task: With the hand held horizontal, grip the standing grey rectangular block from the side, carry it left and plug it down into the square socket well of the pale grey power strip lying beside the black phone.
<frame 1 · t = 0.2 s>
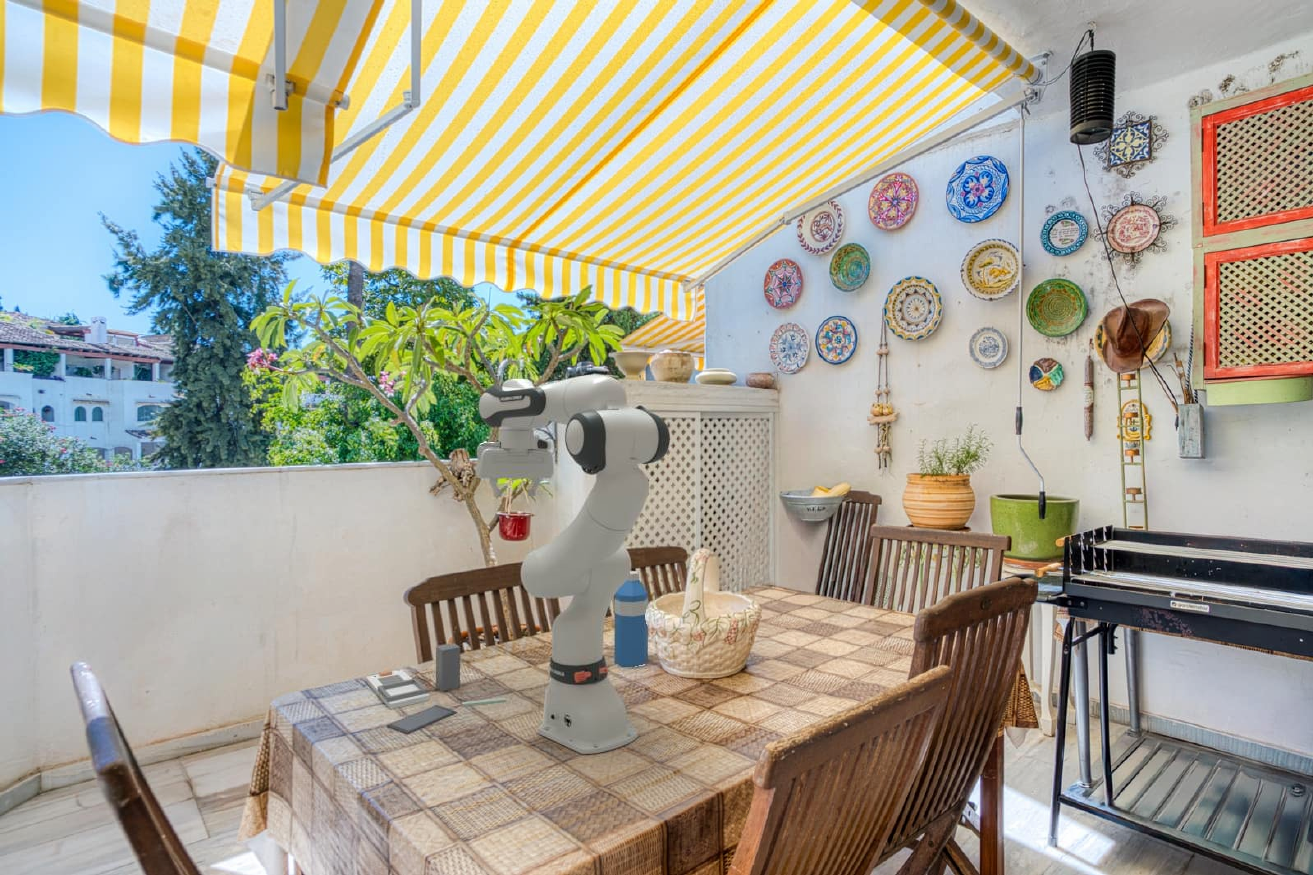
hand: (515, 496, 168), 47 cm above the table, tool pointing down, fingers open, 8 cm apart
pale green stick: (484, 705, 154), on the table
phone: (422, 722, 144), on the table
water bottle: (631, 663, 182), on the table
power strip: (396, 690, 161), on the table
grey rectangular block: (447, 686, 164), on the table
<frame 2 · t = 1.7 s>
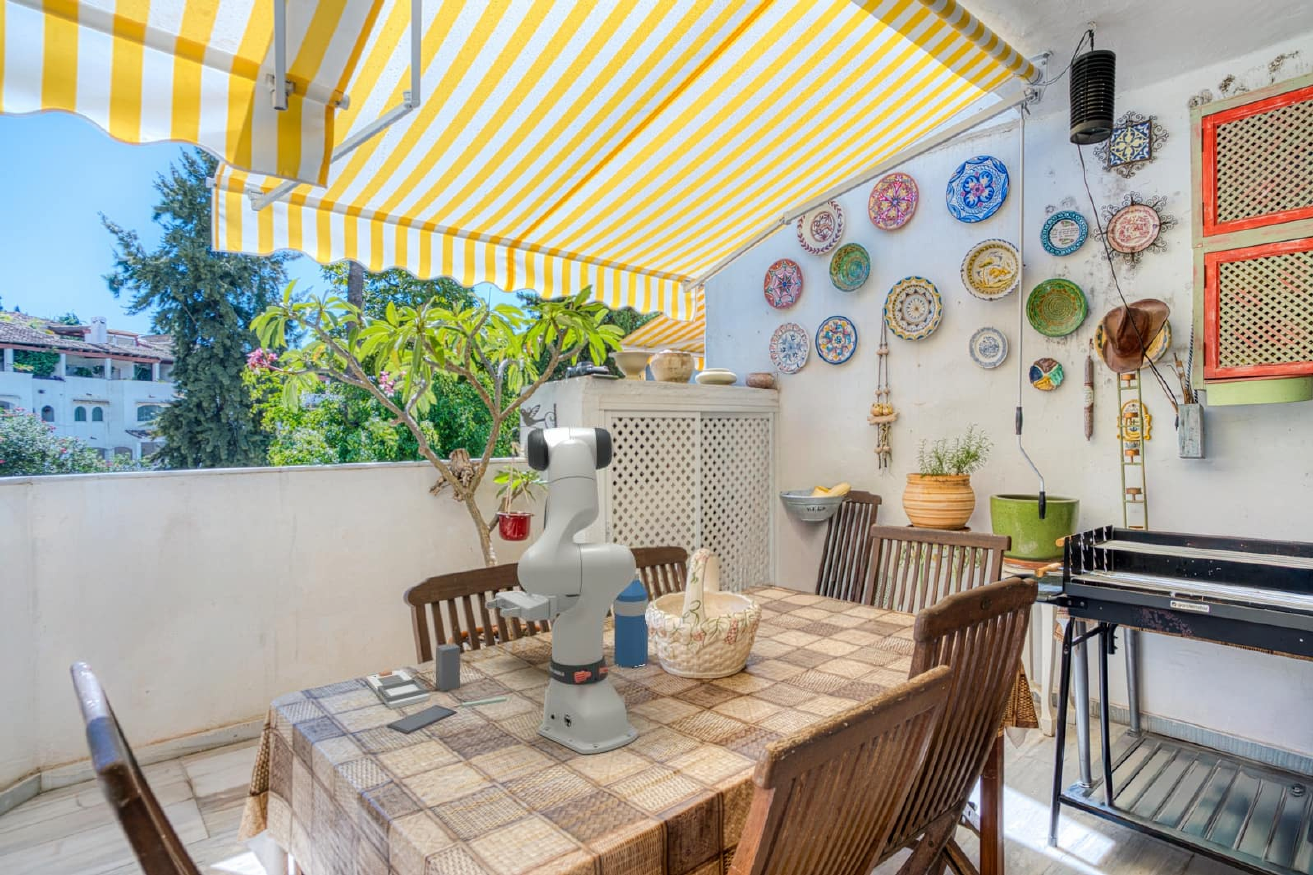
hand: (493, 609, 172), 17 cm above the table, tool horizontal, fingers open, 8 cm apart
nothing on the table moved.
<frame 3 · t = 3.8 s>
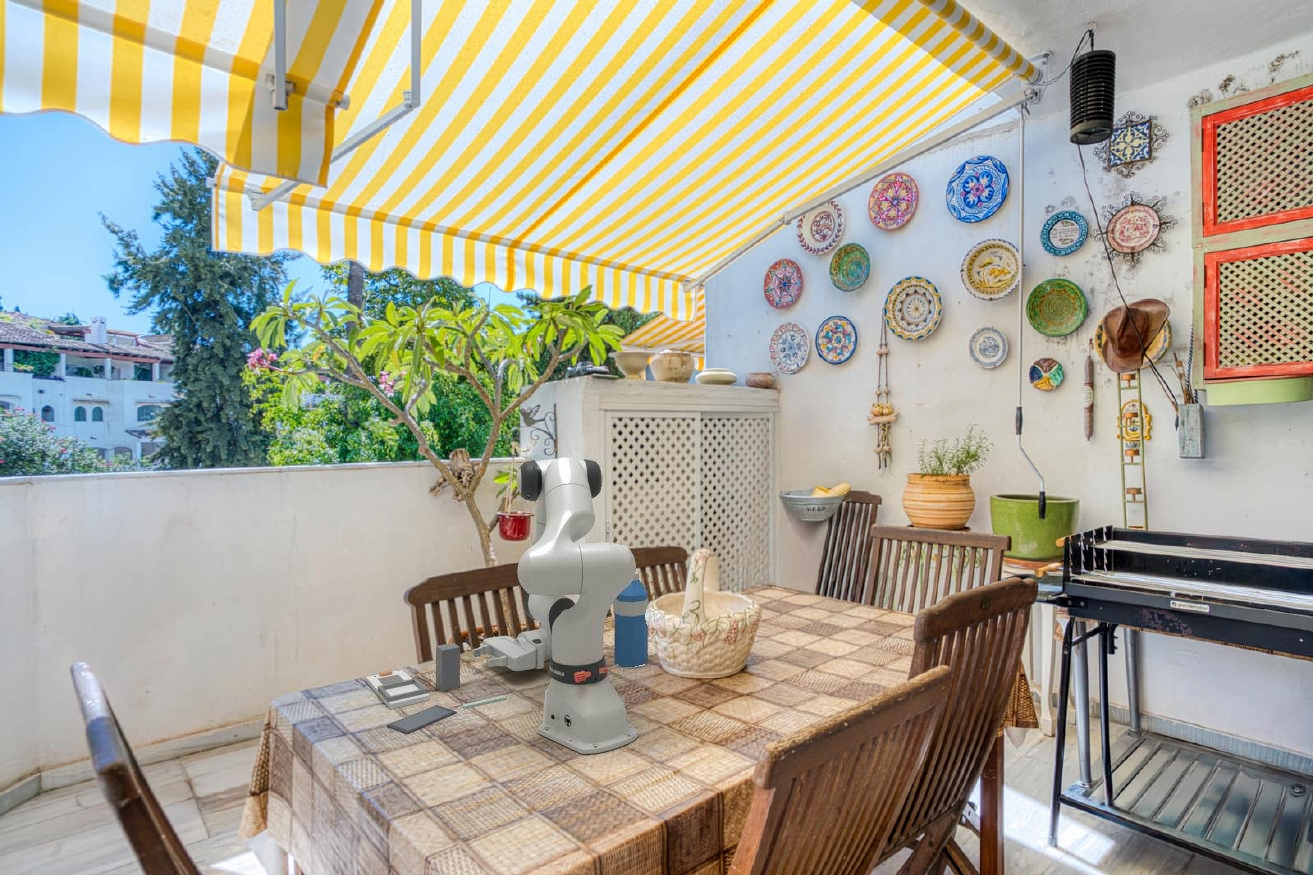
hand: (479, 658, 169), 5 cm above the table, tool horizontal, fingers open, 8 cm apart
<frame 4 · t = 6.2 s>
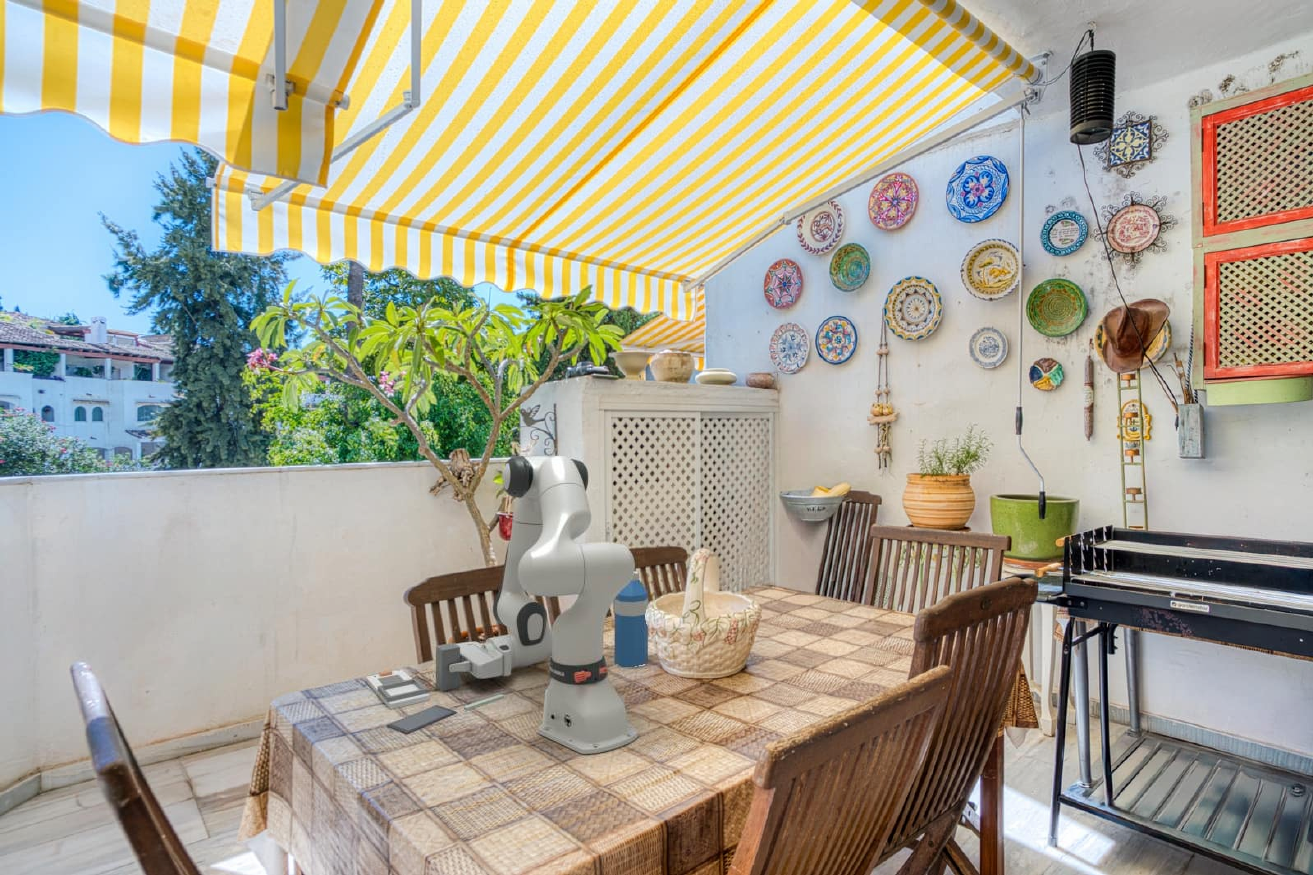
hand: (444, 665, 164), 6 cm above the table, tool horizontal, fingers closed on grey rectangular block, 4 cm apart
grey rectangular block: (447, 686, 164), on the table, touching gripper
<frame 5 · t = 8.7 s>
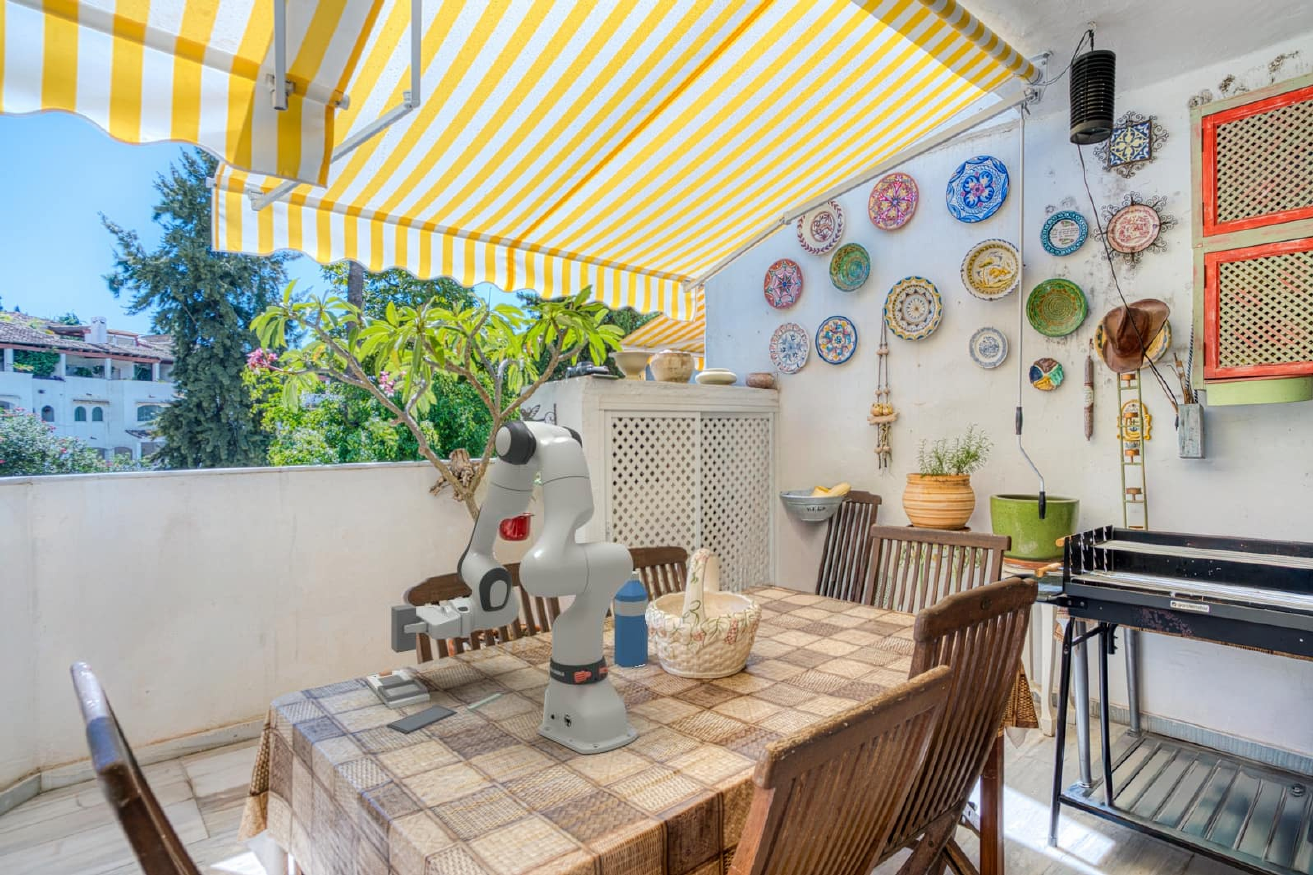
hand: (399, 626, 157), 17 cm above the table, tool horizontal, fingers closed on grey rectangular block, 4 cm apart
grey rectangular block: (403, 648, 158), point 11 cm above the table, touching gripper
when the fingers open (8 cm above the table, at t = 11.3 s): grey rectangular block drops 1 cm, resting on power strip.
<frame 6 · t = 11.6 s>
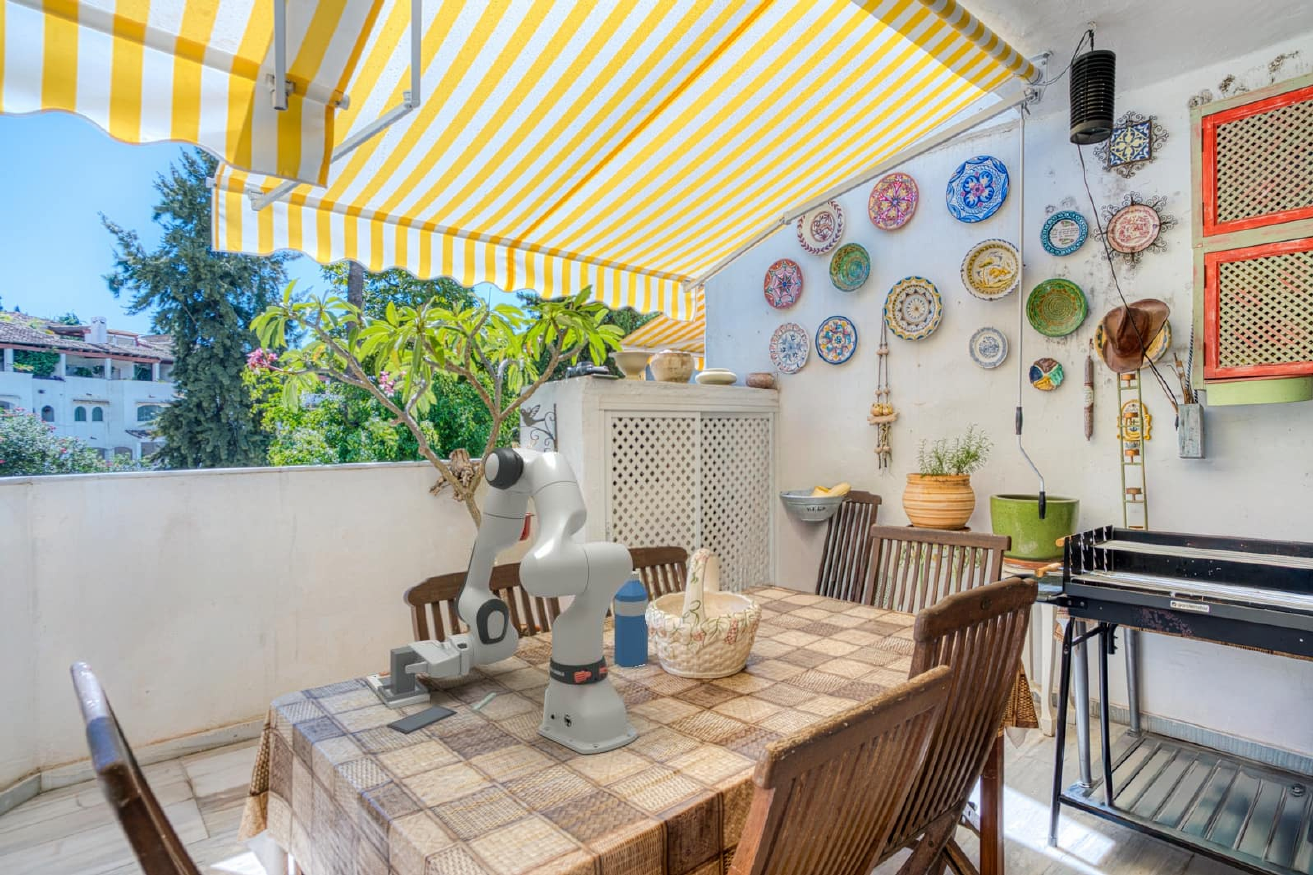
hand: (398, 664, 157), 8 cm above the table, tool horizontal, fingers open, 8 cm apart
grey rectangular block: (402, 691, 157), point 1 cm above the table, touching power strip
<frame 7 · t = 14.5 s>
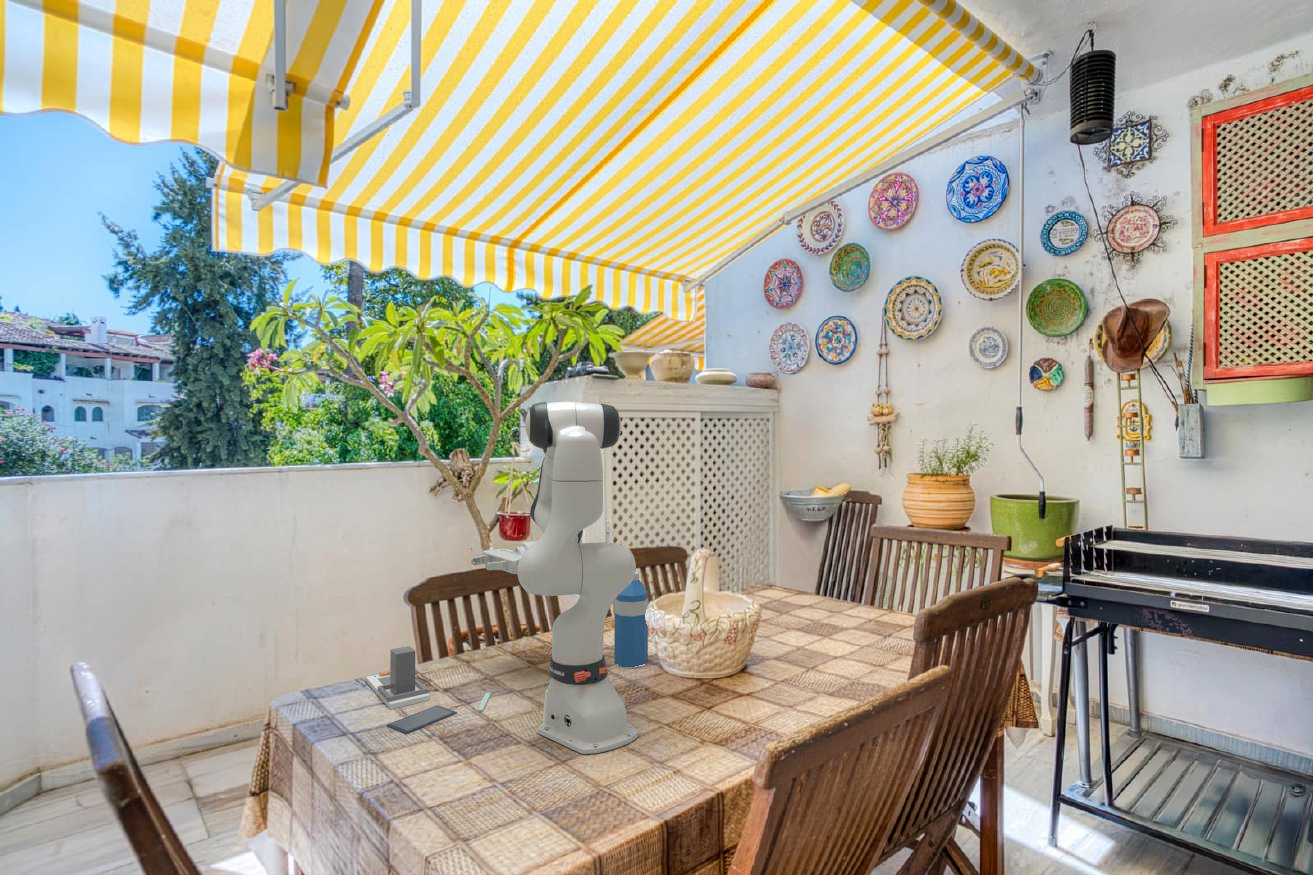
hand: (479, 564, 169), 30 cm above the table, tool horizontal, fingers open, 8 cm apart
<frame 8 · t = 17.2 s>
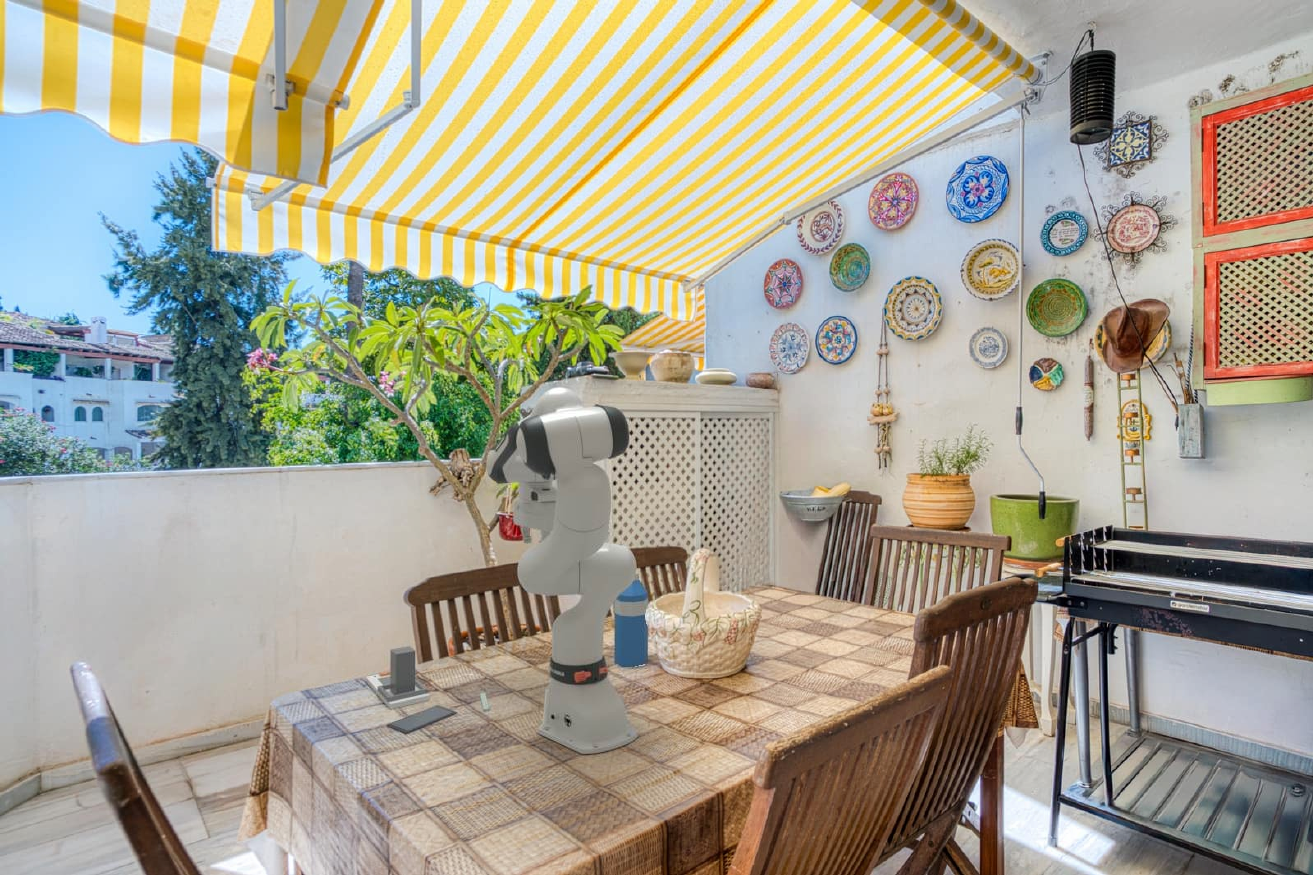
hand: (535, 545, 172), 34 cm above the table, tool pointing down, fingers open, 8 cm apart
at the end: grey rectangular block 0.0 cm from the target spot on the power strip, point 1.2 cm above the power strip's base; grey rectangular block tilted 0°; the gripper is holding nothing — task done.
